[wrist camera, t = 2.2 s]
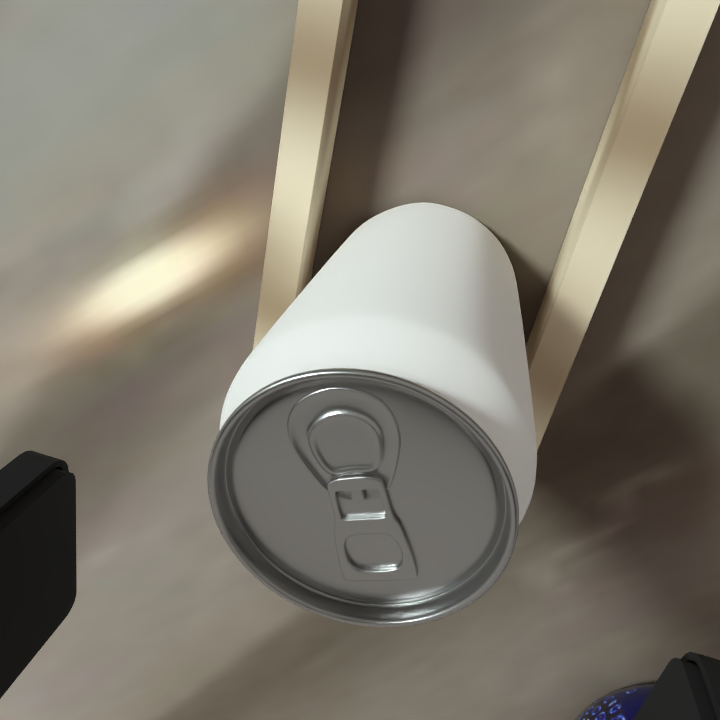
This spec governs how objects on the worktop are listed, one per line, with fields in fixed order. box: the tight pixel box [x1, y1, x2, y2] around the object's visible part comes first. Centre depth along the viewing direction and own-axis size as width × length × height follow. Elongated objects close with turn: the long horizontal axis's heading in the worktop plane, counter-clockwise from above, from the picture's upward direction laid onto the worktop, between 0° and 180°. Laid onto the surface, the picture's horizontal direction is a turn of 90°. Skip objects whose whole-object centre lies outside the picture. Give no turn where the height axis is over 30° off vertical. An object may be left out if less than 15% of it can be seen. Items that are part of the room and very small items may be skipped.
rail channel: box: [253, 0, 720, 450], centre depth 16 cm, size 24×10×5 cm, turn 169°
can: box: [207, 203, 537, 627], centre depth 16 cm, size 6×6×12 cm
